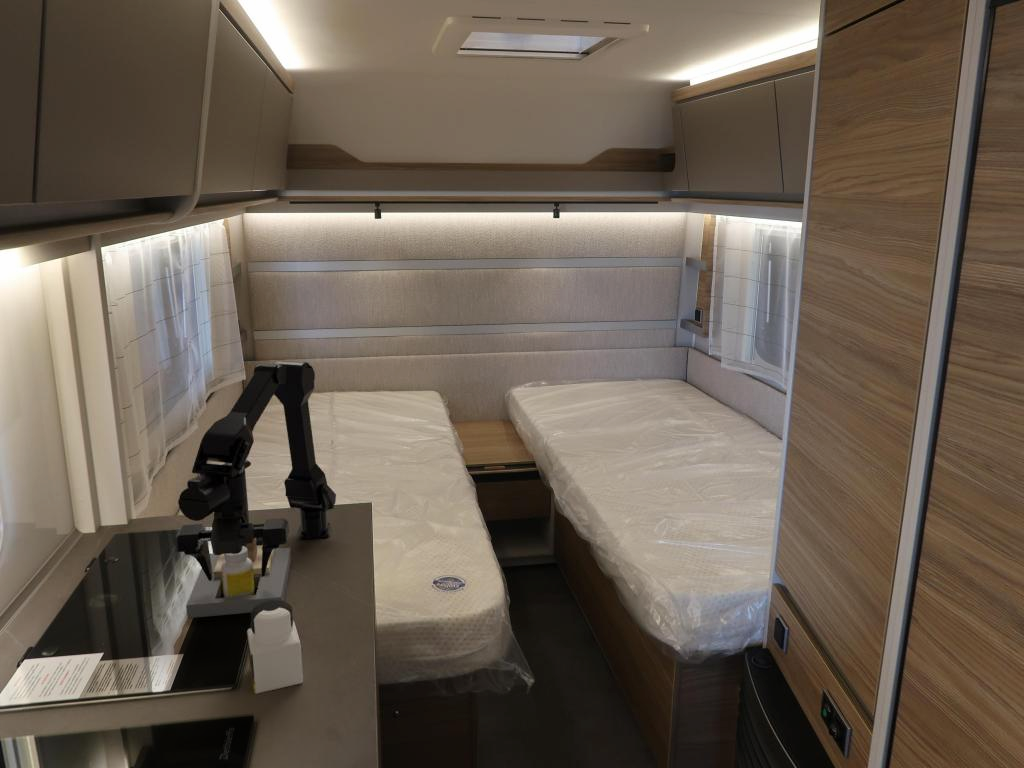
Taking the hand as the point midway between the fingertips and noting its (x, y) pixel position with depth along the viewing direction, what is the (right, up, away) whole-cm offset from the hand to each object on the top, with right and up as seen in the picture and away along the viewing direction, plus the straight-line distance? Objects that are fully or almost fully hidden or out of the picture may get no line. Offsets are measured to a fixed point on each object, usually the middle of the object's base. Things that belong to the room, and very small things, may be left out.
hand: (237, 577), depth 141 cm
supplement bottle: (0, -4, +1) cm, 5 cm away
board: (-1, -3, +6) cm, 7 cm away
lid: (-2, 0, +10) cm, 10 cm away
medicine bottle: (+14, -10, -21) cm, 27 cm away
